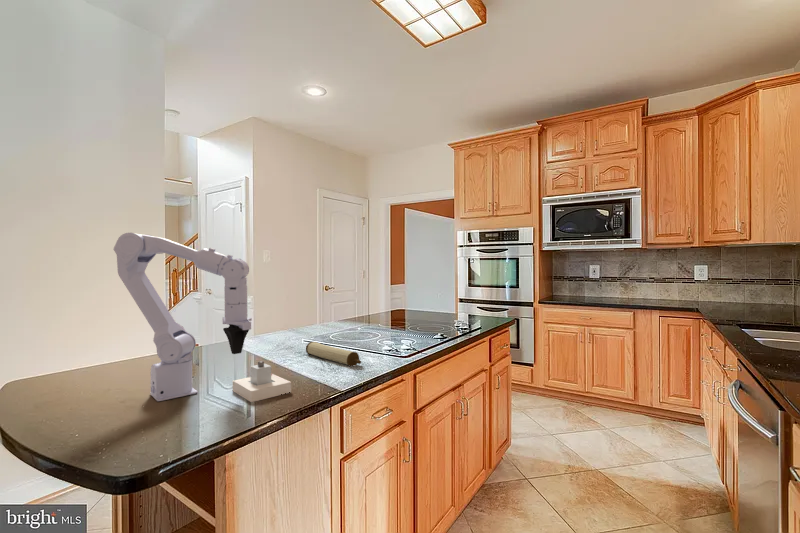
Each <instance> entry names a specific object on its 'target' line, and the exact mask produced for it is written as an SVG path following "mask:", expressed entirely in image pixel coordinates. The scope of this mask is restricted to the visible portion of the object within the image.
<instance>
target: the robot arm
mask: <svg viewBox="0 0 800 533" xmlns="http://www.w3.org/2000/svg"><path fill="white" fill-rule="evenodd" d="M113 251H114V253H115V255H116V263H117V264H116V265H117V275H118V277H119V278H120V280H121V281H122V283H123V284H124V287H125V288H126V289H127V291H128V292H129V294H130V295H131V297H132V299H133V301H134V302H135V303H136V305H137V307H138V309H139V310H140V312H141V313H142V315H143V316H144V317H145V319H146V322H147V323H148V324H149V326H150V328H151V329H152V330H153V332H154V335H153V338H152V339H153V340H152V341H153V343H154V344H155V347H156V354H157V357H158V358H159V360H161V361H160V362H158V363H157V362H156V363H153V364H151V368H150V392H149V395H151V397H153V398H154V399H155V401H156V402H163V401H166V400H167V401H168V400H171V399H177V398H181V397H185V396H189V395H190V396H191V395H195V394H198V392H199V391H198V390H196V389H195V388H194V387H193V355H192V352H193V351H194V350H195V349H196V348H195V347H196V345H197V343H196V339H195V336H193V335H192V334H191V333H190V332H188V331H186V329H185V328H184V326H182V325H181V324H180V323H178V322H176V320H175V319H174V317H173V316H172V314H171V313H170V311H169V309H168V308H167V306H166V304H165V303H164V301H163V300H162V298H161V297H160V294H159V293H158V292H157V290H156V288H155V287H154V285H153V283H152V282H151V281H150V279H149V277H148V276H147V274H146V272H145V271H146V270H147V266H148V264H149V263H150V262H151V261H152V260H153V259H154V257H156V255H157V254H158V255H160V254H161V255H163V254H167V255H170V256H174V257H178V258H181V259H183V260H186V261H189V262H193V264H194V265H195V267H196V268H197V269H199V270H202V271H205V272H208V273H211V274H213V275H215V276H220V277H221V276H222V277H223V279H224V317H223V316H222V325H228V327H224V328H223V332H224V334H225V335H226V336H225V337H226V338H227V340H228V343H229V344H228V345H229V347H230V351H231V354H232V355H236V354H237V355H238V354H242V352H243V347H244V344H245V341H246V337H247V334H249V331H250V330H252V322H251V321H253V320H252V317H248V284H247V282H248V278H247V276H248V275H249V272H250V267H249V264H248V263H247V262H246V261H245V260H243V259H241V258H233V255H231V254H227V255H226V254H223V253H221V252H218V251H216V248H213V247H209V248H207V247H206V248H202V249H200V250H197V249H194V248H191V247H189V246H186V245H184V244H181V243H179V242H176V241H172V240H171V239H169V238H164V237H159V236H153V235H151V234H140V233H136V232H135V233H134V232H126V233H125V232H124V233H122V234H121V235H120V236H118V238H117V240H116V242H115V245H114V247H113Z"/></svg>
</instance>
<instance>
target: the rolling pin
mask: <svg viewBox="0 0 800 533" xmlns="http://www.w3.org/2000/svg"><path fill="white" fill-rule="evenodd" d="M305 351H306V354H307V355H309V354H311V355H312V356H314V357H319V358H322V359H326V360H329V361H333V362H336V363H340V364H344V365H348V366H349V367H354V366H353V365H356V366H357V365H358V364H359V365H360V364H362V360H361V359H360V355H359V352H356V351H351V350H347V349H342V348H338V347H335V346H331V345H326V344H323V343H319V342H316V341H310V342H308V343H307V345H305Z"/></svg>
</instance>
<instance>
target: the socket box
mask: <svg viewBox="0 0 800 533" xmlns="http://www.w3.org/2000/svg"><path fill="white" fill-rule="evenodd" d="M232 392H234V393H236V394H237V395H238V396H240V397H242V398H244V399H246V400H247V401H248V402H250V403H255V402H258V401H262V400H265V399H266V400H267V399H270V398H274V397H278V396H281V394H282V395H285V393H286V394H290V393H292V381H290V380H287V379H286V378H283V377H281V376H278V375H276V374H275V373H272V372H271V383H267V384H262V385H258V386H256V385H254V384H252V383H251V376H248V377H244V378H239V379H235V380H234V379H233V380H232ZM289 392H290V393H289Z"/></svg>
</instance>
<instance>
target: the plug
mask: <svg viewBox="0 0 800 533" xmlns="http://www.w3.org/2000/svg"><path fill="white" fill-rule="evenodd" d="M271 373H272V366H271V365H270V364H267V363H265V361H264V360H259V361H257V364H254V365H250V377H251V383H252V384H254V385H256V386H258V385H262V384H267V383H271Z"/></svg>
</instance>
